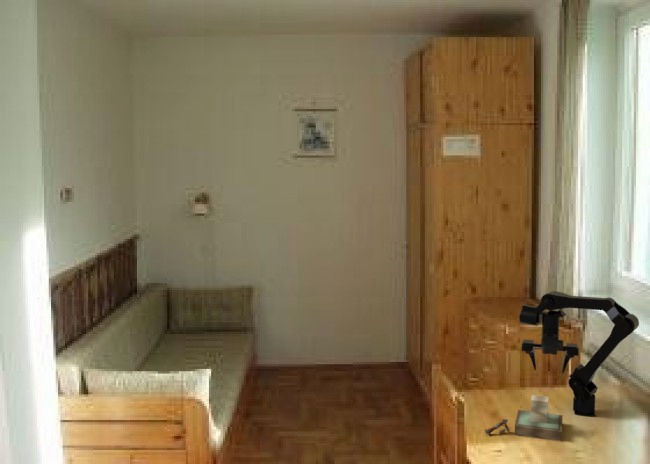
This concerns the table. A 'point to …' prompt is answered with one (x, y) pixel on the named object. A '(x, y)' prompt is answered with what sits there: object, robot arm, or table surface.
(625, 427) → the table surface
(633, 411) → the table surface
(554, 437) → the brown and green tray
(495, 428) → the grey brown jointed piece
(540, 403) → the maple block
